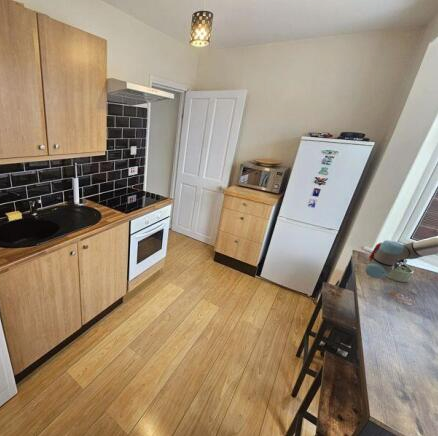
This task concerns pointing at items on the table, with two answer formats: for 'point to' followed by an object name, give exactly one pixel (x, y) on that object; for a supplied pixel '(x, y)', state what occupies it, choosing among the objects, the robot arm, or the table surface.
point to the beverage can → (375, 250)
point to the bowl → (400, 274)
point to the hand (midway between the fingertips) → (398, 254)
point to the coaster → (401, 298)
